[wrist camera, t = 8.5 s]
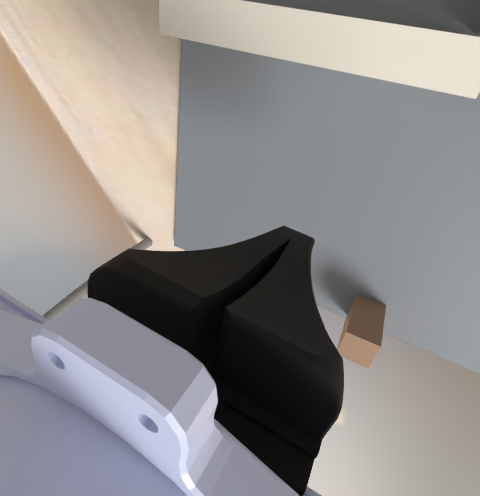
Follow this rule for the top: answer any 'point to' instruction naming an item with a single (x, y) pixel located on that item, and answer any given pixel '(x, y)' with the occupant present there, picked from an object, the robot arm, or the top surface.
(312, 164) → the flat gray panel
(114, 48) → the top surface
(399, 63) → the gate
